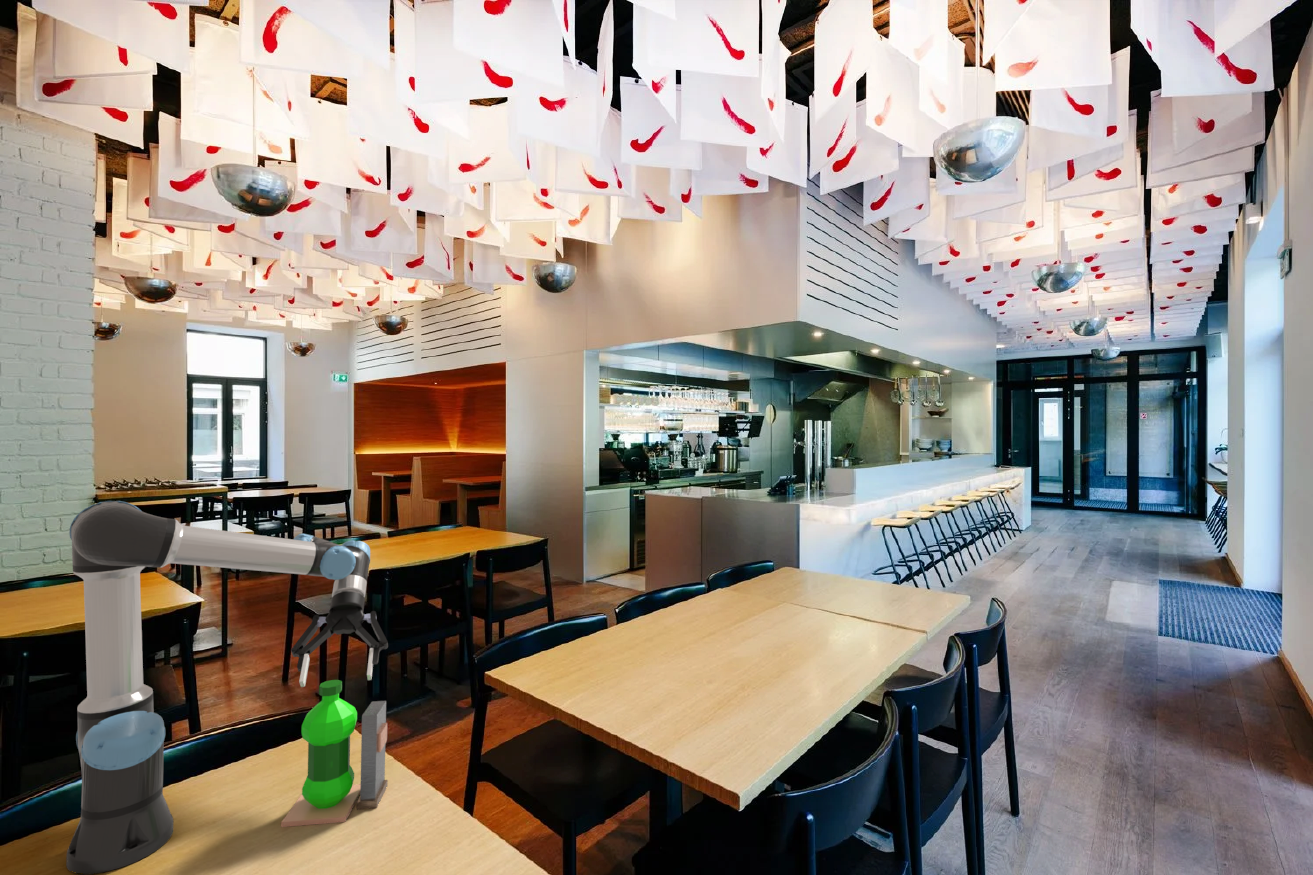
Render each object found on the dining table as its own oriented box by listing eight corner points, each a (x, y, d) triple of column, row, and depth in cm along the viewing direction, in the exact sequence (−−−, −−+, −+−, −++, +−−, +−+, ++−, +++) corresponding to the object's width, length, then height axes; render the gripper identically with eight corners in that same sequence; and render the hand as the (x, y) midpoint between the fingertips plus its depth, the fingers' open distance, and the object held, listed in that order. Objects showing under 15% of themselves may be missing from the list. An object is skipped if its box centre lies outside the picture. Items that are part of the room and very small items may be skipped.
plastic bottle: (295, 820, 121) (298, 696, 121) (307, 791, 131) (309, 677, 131) (350, 811, 124) (353, 690, 124) (357, 783, 134) (360, 671, 134)
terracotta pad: (281, 826, 120) (281, 821, 120) (305, 792, 132) (306, 787, 132) (345, 821, 122) (345, 816, 122) (363, 788, 134) (363, 783, 134)
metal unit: (356, 809, 126) (358, 716, 126) (368, 787, 134) (370, 700, 134) (377, 807, 127) (379, 715, 127) (387, 786, 135) (389, 699, 135)
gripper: (402, 602, 156) (396, 681, 142) (294, 609, 148) (275, 694, 134) (401, 586, 151) (395, 667, 137) (288, 593, 143) (269, 679, 129)
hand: (336, 680), depth 135 cm, fingers open, 13 cm apart
